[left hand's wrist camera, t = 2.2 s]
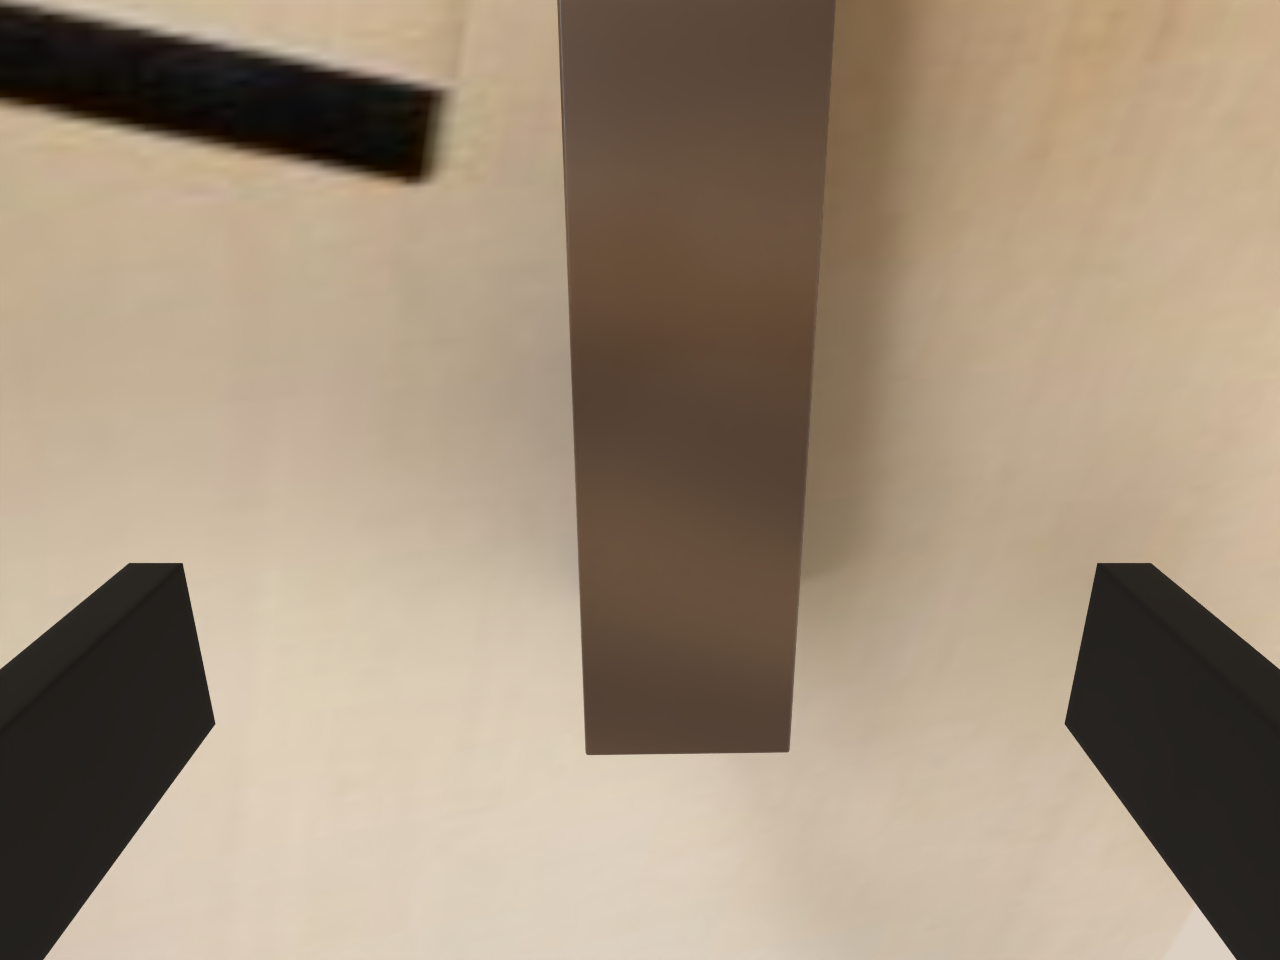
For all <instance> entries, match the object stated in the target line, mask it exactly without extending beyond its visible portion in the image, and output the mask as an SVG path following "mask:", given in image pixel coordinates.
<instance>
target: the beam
mask: <svg viewBox="0 0 1280 960" xmlns="http://www.w3.org/2000/svg"><path fill="white" fill-rule="evenodd" d="M557 4H558V30H559V57H560V83H561V110H562V137H563V163H564V190H565V216H566V243H567V270H568V296H569V323H570V349H571V376H572V403H573V429H574V456H575V482H576V509H577V536H578V562H579V589H580V616H581V642H582V669H583V695H584V722H585V749H586V754H587V755H626V754H699V753H773V752H789V750H790V734H791V718H792V702H793V686H794V669H795V653H796V637H797V621H798V605H799V588H800V572H801V556H802V540H803V524H804V507H805V491H806V475H807V459H808V443H809V426H810V410H811V394H812V378H813V362H814V345H815V329H816V313H817V297H818V281H819V264H820V248H821V232H822V216H823V200H824V183H825V167H826V151H827V135H828V119H829V102H830V86H831V70H832V54H833V38H834V21H835V5H836V0H557Z"/></svg>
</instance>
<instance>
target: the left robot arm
mask: <svg viewBox="0 0 1280 960" xmlns="http://www.w3.org/2000/svg"><path fill="white" fill-rule="evenodd" d="M214 725H215V720H214V715H213V710H212V705H211V700H210V695H209V690H208V686H207V681H206V676H205V671H204V666H203V661H202V656H201V651H200V646H199V641H198V637H197V632H196V627H195V622H194V617H193V612H192V607H191V602H190V597H189V592H188V587H187V583H186V578H185V573H184V568H183V563H129V564H128V565H126V566H125V567H124V568H123V569H122V570H120V571H119V572H118V573H117V574H115V575H114V576H113V577H112V578H111V579H109V580H108V581H107V582H106V583H105V584H103V585H102V586H101V587H100V588H98V589H97V590H96V591H95V592H94V593H92V594H91V595H90V596H89V597H88V598H86V599H85V600H84V601H83V602H82V603H80V604H79V605H78V606H77V607H75V608H74V609H73V610H72V611H71V612H69V613H68V614H67V615H66V616H65V617H63V618H62V619H61V620H60V621H58V622H57V623H56V624H55V625H54V626H52V627H51V628H50V629H49V630H48V631H46V632H45V633H44V634H43V635H41V636H40V637H39V638H38V639H37V640H35V641H34V642H33V643H32V644H31V645H29V646H28V647H27V648H26V649H25V650H23V651H22V652H21V653H20V654H18V655H17V656H16V657H15V658H14V659H12V660H11V661H10V662H9V663H8V664H6V665H5V666H4V667H3V668H1V669H0V960H43V959H44V958H45V957H46V955H47V954H48V953H49V951H50V950H51V948H52V947H53V946H54V944H55V943H56V942H57V940H58V939H59V938H60V936H61V935H62V933H63V932H64V931H65V929H66V928H67V927H68V925H69V924H70V922H71V921H72V920H73V918H74V917H75V916H76V914H77V913H78V911H79V910H80V909H81V907H82V906H83V905H84V903H85V902H86V901H87V899H88V898H89V896H90V895H91V894H92V892H93V891H94V890H95V888H96V887H97V885H98V884H99V883H100V881H101V880H102V879H103V877H104V876H105V874H106V873H107V872H108V870H109V869H110V868H111V866H112V865H113V864H114V862H115V861H116V859H117V858H118V857H119V855H120V854H121V853H122V851H123V850H124V848H125V847H126V846H127V844H128V843H129V842H130V840H131V839H132V837H133V836H134V835H135V833H136V832H137V831H138V829H139V828H140V827H141V825H142V824H143V822H144V821H145V820H146V818H147V817H148V816H149V814H150V813H151V811H152V810H153V809H154V807H155V806H156V805H157V803H158V802H159V800H160V799H161V798H162V796H163V795H164V794H165V792H166V791H167V790H168V788H169V787H170V785H171V784H172V783H173V781H174V780H175V779H176V777H177V776H178V774H179V773H180V772H181V770H182V769H183V768H184V766H185V765H186V763H187V762H188V761H189V759H190V758H191V757H192V755H193V754H194V753H195V751H196V750H197V748H198V747H199V746H200V744H201V743H202V742H203V740H204V739H205V737H206V736H207V735H208V733H209V732H210V731H211V729H212V728H213V726H214ZM1065 725H1066V726H1067V728H1068V729H1069V731H1070V732H1071V733H1072V735H1073V736H1074V737H1075V739H1076V740H1077V742H1078V743H1079V744H1080V746H1081V747H1082V748H1083V750H1084V751H1085V753H1086V754H1087V755H1088V757H1089V758H1090V759H1091V761H1092V762H1093V763H1094V765H1095V766H1096V768H1097V769H1098V770H1099V772H1100V773H1101V774H1102V776H1103V777H1104V779H1105V780H1106V781H1107V783H1108V784H1109V785H1110V787H1111V788H1112V790H1113V791H1114V792H1115V794H1116V795H1117V796H1118V798H1119V799H1120V800H1121V802H1122V803H1123V805H1124V806H1125V807H1126V809H1127V810H1128V811H1129V813H1130V814H1131V816H1132V817H1133V818H1134V820H1135V821H1136V822H1137V824H1138V825H1139V827H1140V828H1141V829H1142V831H1143V832H1144V833H1145V835H1146V836H1147V837H1148V839H1149V840H1150V842H1151V843H1152V844H1153V846H1154V847H1155V848H1156V850H1157V851H1158V853H1159V854H1160V855H1161V857H1162V858H1163V859H1164V861H1165V862H1166V864H1167V865H1168V866H1169V868H1170V869H1171V870H1172V872H1173V873H1174V874H1175V876H1176V877H1177V879H1178V880H1179V881H1180V883H1181V884H1182V885H1183V887H1184V888H1185V890H1186V891H1187V892H1188V894H1189V895H1190V896H1191V898H1192V899H1193V901H1194V902H1195V903H1196V905H1197V906H1198V907H1199V909H1200V910H1201V911H1202V913H1203V914H1204V916H1205V917H1206V918H1207V920H1208V921H1209V922H1210V924H1211V925H1212V926H1213V928H1214V929H1215V931H1216V932H1217V933H1218V935H1219V936H1220V938H1221V939H1222V940H1223V942H1224V943H1225V944H1226V946H1227V947H1228V948H1229V950H1230V951H1231V953H1232V954H1233V955H1234V957H1235V958H1236V959H1237V960H1280V669H1279V668H1277V667H1276V666H1275V665H1274V664H1272V663H1271V662H1270V661H1269V660H1268V659H1266V658H1265V657H1264V656H1263V655H1262V654H1260V653H1259V652H1258V651H1257V650H1255V649H1254V648H1253V647H1252V646H1251V645H1249V644H1248V643H1247V642H1246V641H1245V640H1243V639H1242V638H1241V637H1240V636H1239V635H1237V634H1236V633H1235V632H1234V631H1232V630H1231V629H1230V628H1229V627H1228V626H1226V625H1225V624H1224V623H1223V622H1222V621H1220V620H1219V619H1218V618H1217V617H1215V616H1214V615H1213V614H1212V613H1211V612H1209V611H1208V610H1207V609H1206V608H1205V607H1203V606H1202V605H1201V604H1200V603H1198V602H1197V601H1196V600H1195V599H1194V598H1192V597H1191V596H1190V595H1189V594H1188V593H1186V592H1185V591H1184V590H1183V589H1182V588H1180V587H1179V586H1178V585H1177V584H1175V583H1174V582H1173V581H1172V580H1171V579H1169V578H1168V577H1167V576H1166V575H1165V574H1163V573H1162V572H1161V571H1160V570H1158V569H1157V568H1156V567H1155V566H1154V565H1152V564H1151V563H1097V568H1096V573H1095V578H1094V583H1093V587H1092V592H1091V597H1090V602H1089V607H1088V612H1087V617H1086V622H1085V627H1084V632H1083V637H1082V641H1081V646H1080V651H1079V656H1078V661H1077V666H1076V671H1075V676H1074V681H1073V686H1072V690H1071V695H1070V700H1069V705H1068V710H1067V715H1066V720H1065Z"/></svg>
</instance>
